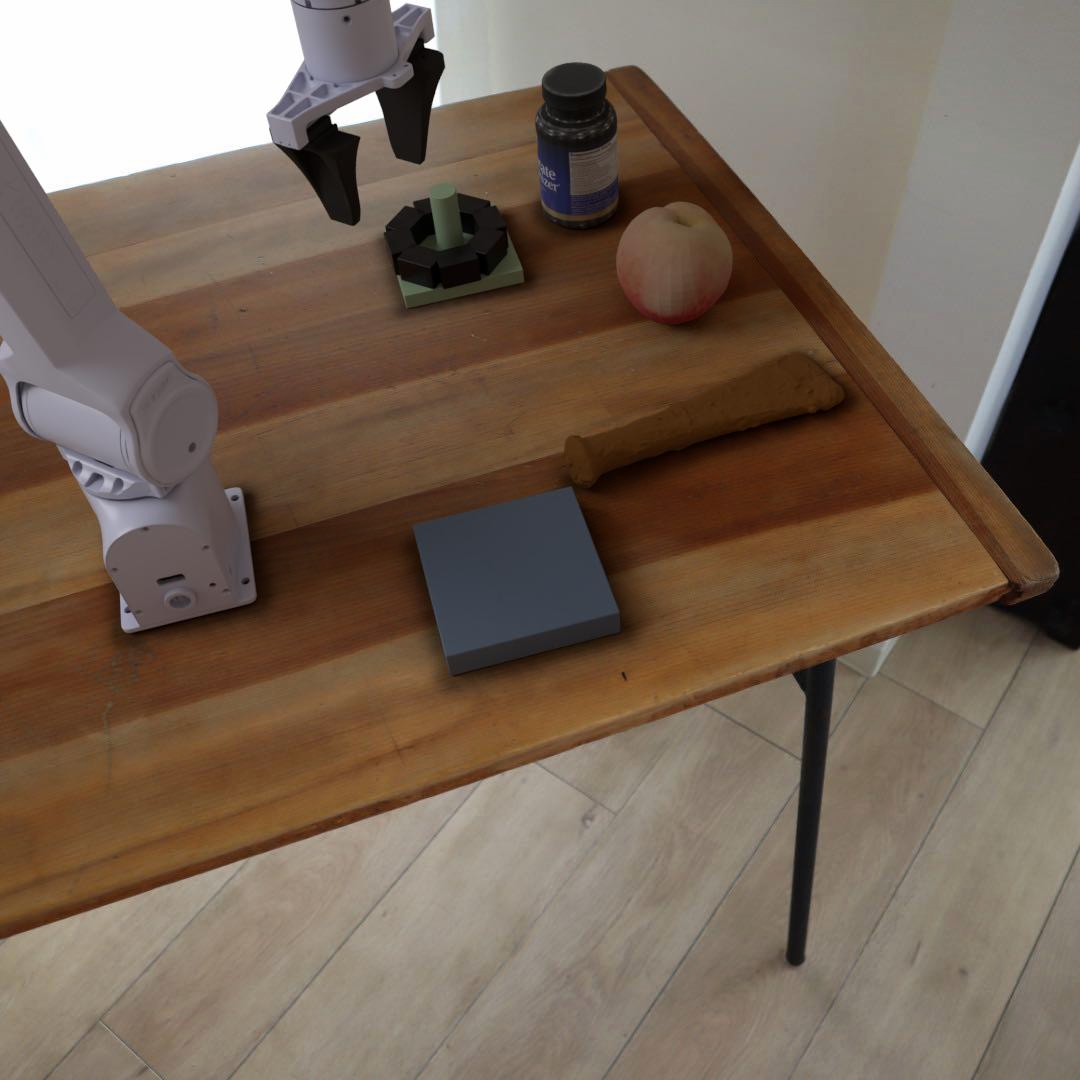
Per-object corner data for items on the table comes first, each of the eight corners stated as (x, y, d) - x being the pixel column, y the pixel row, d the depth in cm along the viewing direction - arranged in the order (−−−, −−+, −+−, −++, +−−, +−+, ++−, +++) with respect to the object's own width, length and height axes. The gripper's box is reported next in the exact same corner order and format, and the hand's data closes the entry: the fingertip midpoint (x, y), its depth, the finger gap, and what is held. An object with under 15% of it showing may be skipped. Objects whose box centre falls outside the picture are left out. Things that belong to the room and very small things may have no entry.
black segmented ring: (520, 271, 87) (517, 248, 85) (404, 299, 86) (400, 277, 84) (488, 205, 92) (485, 183, 91) (379, 232, 91) (374, 210, 90)
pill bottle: (532, 196, 95) (520, 67, 86) (604, 178, 96) (599, 48, 87) (556, 239, 91) (546, 108, 82) (630, 220, 92) (628, 89, 83)
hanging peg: (524, 282, 88) (517, 212, 83) (406, 308, 87) (392, 239, 82) (496, 214, 94) (488, 145, 89) (386, 238, 93) (371, 169, 88)
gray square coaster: (620, 632, 67) (620, 612, 66) (450, 676, 66) (445, 657, 65) (573, 506, 73) (571, 485, 72) (417, 545, 72) (412, 524, 71)
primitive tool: (800, 355, 81) (805, 315, 78) (851, 402, 77) (858, 362, 75) (555, 467, 76) (552, 429, 73) (599, 522, 72) (597, 485, 70)
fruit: (751, 320, 83) (759, 225, 77) (651, 359, 81) (651, 265, 75) (694, 260, 88) (697, 166, 82) (599, 295, 86) (594, 202, 80)
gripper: (316, 59, 63) (363, 265, 74) (462, -55, 71) (486, 146, 81) (217, 34, 66) (276, 236, 76) (367, -74, 73) (402, 124, 84)
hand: (378, 188), depth 79 cm, fingers open, 7 cm apart
